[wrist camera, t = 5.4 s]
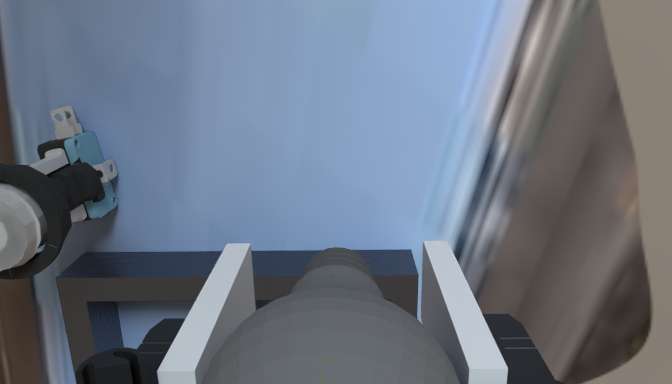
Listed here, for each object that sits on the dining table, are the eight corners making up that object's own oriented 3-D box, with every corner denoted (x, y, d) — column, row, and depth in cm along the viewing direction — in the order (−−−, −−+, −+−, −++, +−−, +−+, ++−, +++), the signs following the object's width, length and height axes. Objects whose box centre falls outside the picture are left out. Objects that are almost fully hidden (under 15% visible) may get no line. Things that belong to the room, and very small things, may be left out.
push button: (27, 113, 31) (-116, 153, 21) (114, 95, 30) (9, 129, 21) (66, 219, 33) (-49, 298, 23) (148, 204, 32) (66, 279, 23)
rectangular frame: (84, 252, 33) (55, 278, 30) (410, 249, 33) (418, 274, 30) (110, 398, 37) (86, 435, 33) (406, 397, 36) (413, 435, 33)
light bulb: (304, 160, 17) (245, 338, 7) (453, 242, 17) (579, 503, 8) (228, 296, 18) (94, 594, 9) (367, 366, 19) (385, 712, 9)
